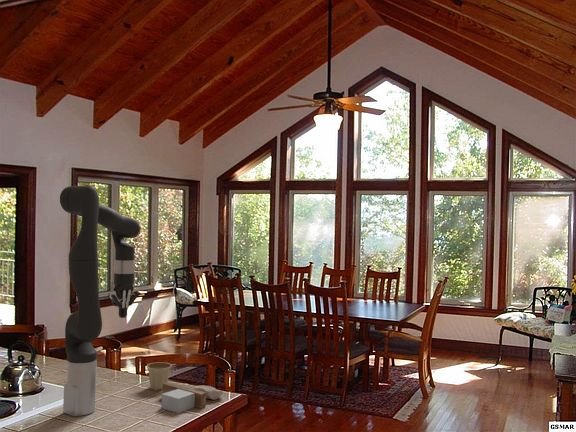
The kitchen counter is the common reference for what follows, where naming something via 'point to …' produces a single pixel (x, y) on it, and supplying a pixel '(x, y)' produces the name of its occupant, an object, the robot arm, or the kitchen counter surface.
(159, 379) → the flower pot
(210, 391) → the fossil
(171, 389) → the board
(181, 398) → the block
